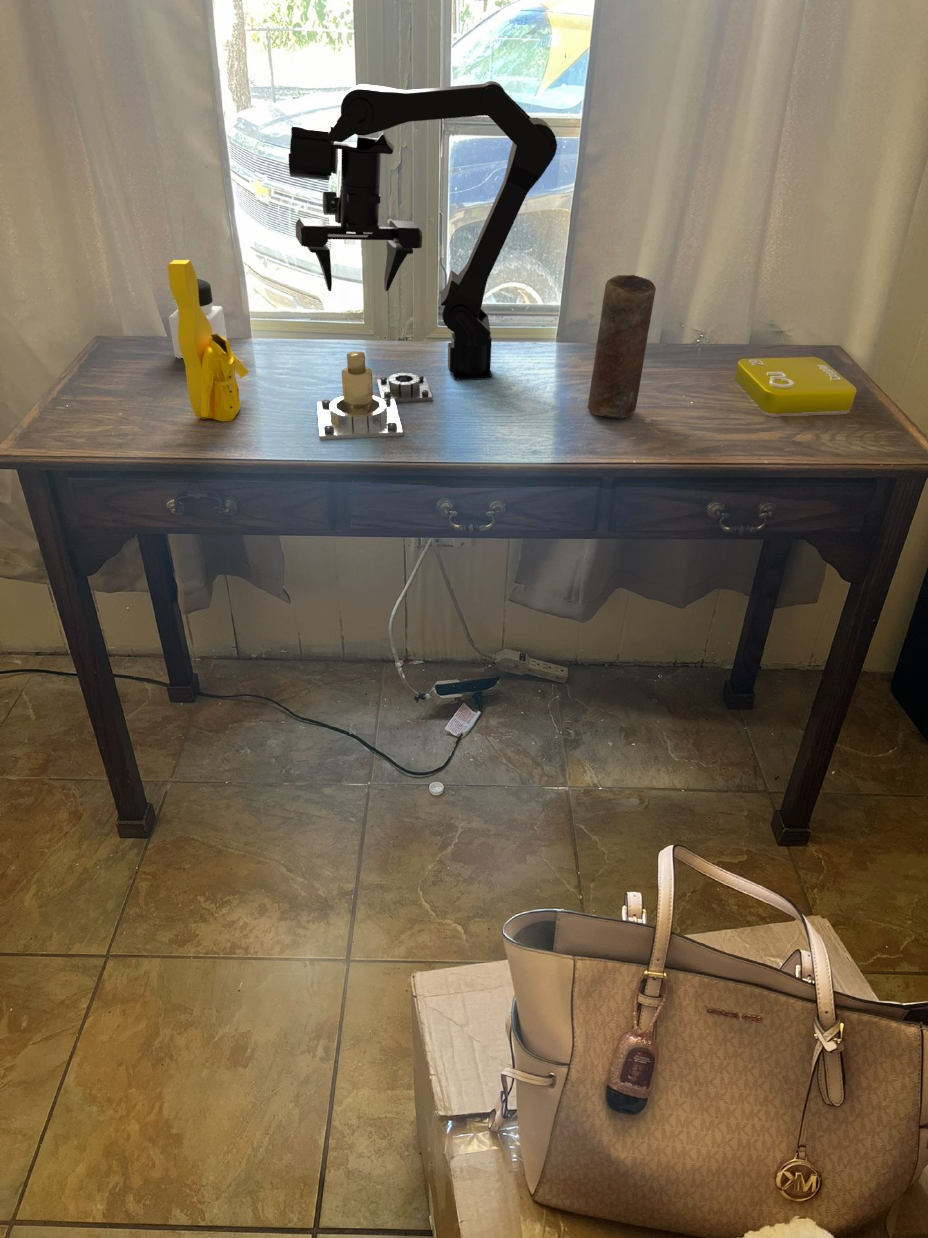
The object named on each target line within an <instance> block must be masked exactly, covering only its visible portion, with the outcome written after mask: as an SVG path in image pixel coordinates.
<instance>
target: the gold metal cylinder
mask: <svg viewBox="0 0 928 1238" xmlns="http://www.w3.org/2000/svg"><path fill="white" fill-rule="evenodd" d="M346 360H347V361H346V363H347V364H346V365H347V367H344V368H343V369H342V370H341V385H342V396H343V404H344V413H348V414H367V413H370V412H374V411H373V396H374V392H373V391H374V389H373V371H372V369H371V368H370V367H367V366H366V353H364V352H362V351H357V350H355V351H350V352H347V354H346Z"/></svg>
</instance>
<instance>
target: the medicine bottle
mask: <svg viewBox="0 0 928 1238" xmlns="http://www.w3.org/2000/svg"><path fill="white" fill-rule="evenodd" d="M197 282H198V293H199V305H200V308H201V310H202V312H203V313H204V315H205V316H206V318H207V319H208V321H209V323H210V325H211V329H212V334H218V335H220V336H221V337H223V338H225V339H227V340H228V337H227V331H226V321H225V315H224V308H223V306H221V305H214V301H213V295H212V287H211V284H210V283H209V282H208V281H206V280H203V279H201V278H197ZM175 307H176V310H175V311H174V312H173V313H171V314H170V315H169V316H168V322H169V329H170V335H171V339H172V346H173V351H174V356H175V357H174V358H176V357H177V358H176V359H181V358H183V356H182V353H181V350H180V347H179V343H178V321H179V311H178V306H177V304H176V303H175Z"/></svg>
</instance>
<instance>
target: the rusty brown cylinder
mask: <svg viewBox="0 0 928 1238" xmlns="http://www.w3.org/2000/svg"><path fill="white" fill-rule="evenodd" d="M656 289H657V288H656V286H655V284H654V282H652V281H651V279H648V278H645V277H642V276H639V275H635V274H629V275H627V274H622V275H621V274H620V275H619V274H618V275H616V276H612V277H610V279H608V280H606V283H605V286H604V292H603V298H602V299H603V300H602V304H601V305H602V306H601V314H600V320H599V321H600V322H599V327H598V335H597V341H596V350H595V355H594V360H593V361H594V362H593V369H592V373H591V374H592V375H591V381H590V388H589V395H588V402H587V409H588V411H589V413H590V414H592V415H594V416H600V417H605V418H609V419H611V420H613V419H614V420H621V419H623V418H627V417H629V416H631V415H632V414H633V413H634V412H635V411H636V409H637V404H638V397H639V394H640V393H639V392H640V386H641V380H642V375H643V374H642V373H643V368H644V361H645V357H646V356H645V354H646V349H647V343H648V338H649V337H648V336H649V330H650V324H651V318H652V314H653V308H654V307H653V306H654V301H655V296H656Z"/></svg>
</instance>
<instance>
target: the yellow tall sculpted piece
mask: <svg viewBox="0 0 928 1238" xmlns="http://www.w3.org/2000/svg"><path fill="white" fill-rule="evenodd" d="M167 274H168V284H169V288H170V291H171V295H172V297H173V299H174V301H175V305H176V304H177V306H178V311H179V321H178V343H179V347H180V350H181V353H182V356H183V361H184V366H185V375H186V384H187V386H186V387H187V391H188V392H187V393H188V398H189V402H190V407H191V408H192V411H193V414H194V416H195V417H196V418H197V419H202V420H206V419H213V420H217V421H219V422H230V421H233V420H234V419H235V418H236V417H237V414H238V413H239V412H240V409H241V398H240V389H239V384H238V381H237V379H236V378H237V377H236V374H237V375H238V376H239V378H240V379H241V378H244V377H246V376H247V375H248V374H249V370H248V368H247V367H246V366H245V365H244V364H243V362H242V361H241V360H240V359H239V358H238V357H237V356H236V355H235V353H234V351H233V350H232V348H231V347H232V344H231V343H230V342H229V340H228V338H227V339H225V338H223V337H221V336H220V335H218V334H212V329H211V325H210V323H209V321H208V319H207V318H206V316H205V315H204V313H203V312H202V310H201V308H200V305H199V293H198V282H197V279H198V277H197V275H196V271H195V269H194V266H193V264H192V261H191V260H190V259H173V260H172V261H171V262H169V263H168V264H167Z"/></svg>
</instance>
